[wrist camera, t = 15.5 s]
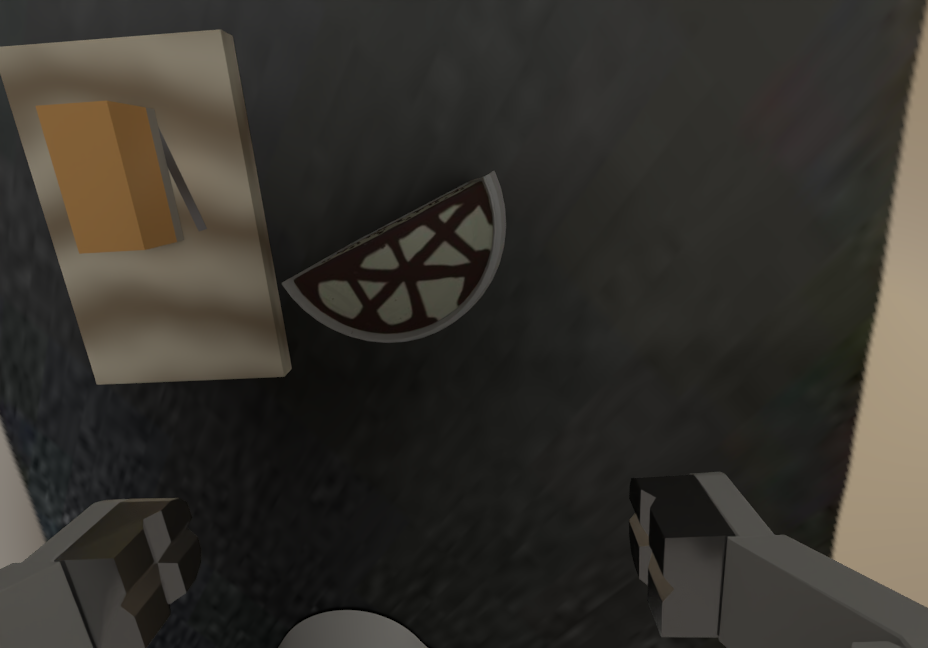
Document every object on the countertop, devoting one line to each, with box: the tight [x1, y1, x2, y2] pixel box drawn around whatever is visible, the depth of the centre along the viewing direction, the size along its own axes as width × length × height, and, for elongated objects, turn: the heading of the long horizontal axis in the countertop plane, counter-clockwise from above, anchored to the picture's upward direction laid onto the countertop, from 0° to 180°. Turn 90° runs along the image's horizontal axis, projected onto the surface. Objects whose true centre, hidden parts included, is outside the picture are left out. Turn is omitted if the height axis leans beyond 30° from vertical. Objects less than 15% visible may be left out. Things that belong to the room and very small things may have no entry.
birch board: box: [0, 30, 292, 385], centre depth 33 cm, size 22×14×2 cm, turn 3°
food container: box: [281, 171, 506, 343], centre depth 29 cm, size 12×6×10 cm, turn 117°
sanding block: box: [35, 101, 184, 254], centre depth 30 cm, size 8×4×4 cm, turn 3°
